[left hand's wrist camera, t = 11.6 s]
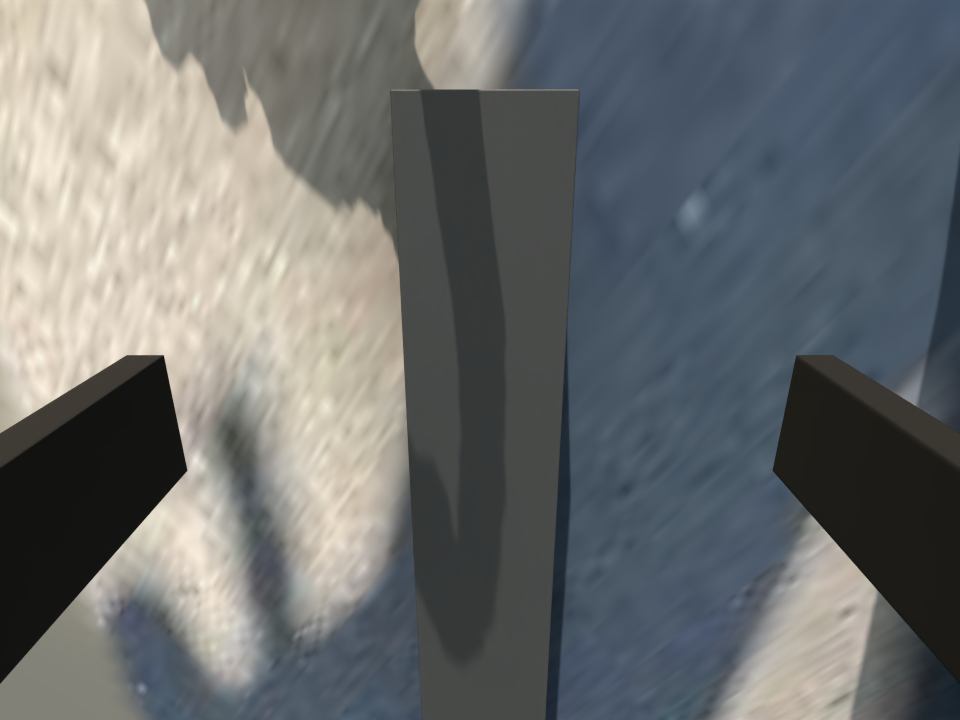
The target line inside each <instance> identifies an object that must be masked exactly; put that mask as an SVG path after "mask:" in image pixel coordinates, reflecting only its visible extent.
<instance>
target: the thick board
mask: <svg viewBox="0 0 960 720" xmlns="http://www.w3.org/2000/svg"><path fill="white" fill-rule="evenodd" d="M390 94H391V114H392V134H393V153H394V173H395V193H396V213H397V233H398V252H399V272H400V292H401V312H402V332H403V351H404V371H405V391H406V411H407V431H408V450H409V470H410V490H411V510H412V530H413V549H414V569H415V589H416V609H417V629H418V649H419V668H420V688H421V708H422V720H545V718H546V700H547V681H548V663H549V644H550V626H551V608H552V589H553V571H554V553H555V534H556V516H557V498H558V479H559V461H560V443H561V424H562V406H563V388H564V369H565V351H566V332H567V314H568V296H569V277H570V259H571V241H572V222H573V204H574V186H575V167H576V149H577V131H578V112H579V94H580V90H391V91H390Z"/></svg>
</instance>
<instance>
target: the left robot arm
mask: <svg viewBox="0 0 960 720" xmlns="http://www.w3.org/2000/svg"><path fill="white" fill-rule="evenodd" d="M186 472H187V467H186V462H185V457H184V452H183V447H182V442H181V437H180V433H179V428H178V423H177V418H176V413H175V408H174V403H173V398H172V393H171V389H170V384H169V379H168V374H167V369H166V364H165V359H164V355H127V356H125V357H123V358H122V359H120V360H118V361H117V362H115V363H114V364H112V365H110V366H109V367H107V368H105V369H104V370H102V371H101V372H99V373H97V374H96V375H94V376H93V377H91V378H89V379H88V380H86V381H84V382H83V383H81V384H80V385H78V386H76V387H75V388H73V389H71V390H70V391H68V392H67V393H65V394H63V395H62V396H60V397H59V398H57V399H55V400H54V401H52V402H50V403H49V404H47V405H46V406H44V407H42V408H41V409H39V410H37V411H36V412H34V413H33V414H31V415H29V416H28V417H26V418H24V419H23V420H21V421H20V422H18V423H16V424H15V425H13V426H12V427H10V428H8V429H7V430H5V431H4V432H2V433H0V683H1V682H2V681H3V680H4V679H5V678H6V677H7V675H8V674H9V673H10V672H11V671H12V670H13V669H14V667H15V666H16V665H17V664H18V663H19V662H20V661H21V659H22V658H23V657H24V656H25V655H26V654H27V653H28V651H29V650H30V649H31V648H32V647H33V646H34V645H35V644H36V642H37V641H38V640H39V639H40V638H41V637H42V636H43V634H44V633H45V632H46V631H47V630H48V629H49V628H50V626H51V625H52V624H53V623H54V622H55V621H56V620H57V618H58V617H59V616H60V615H61V614H62V613H63V612H64V610H65V609H66V608H67V607H68V606H69V605H70V604H71V603H72V601H73V600H74V599H75V598H76V597H77V596H78V595H79V593H80V592H81V591H82V590H83V589H84V588H85V587H86V585H87V584H88V583H89V582H90V581H91V580H92V579H93V577H94V576H95V575H96V574H97V573H98V572H99V571H100V570H101V568H102V567H103V566H104V565H105V564H106V563H107V562H108V560H109V559H110V558H111V557H112V556H113V555H114V554H115V552H116V551H117V550H118V549H119V548H120V547H121V546H122V544H123V543H124V542H125V541H126V540H127V539H128V538H129V536H130V535H131V534H132V533H133V532H134V531H135V530H136V529H137V527H138V526H139V525H140V524H141V523H142V522H143V521H144V519H145V518H146V517H147V516H148V515H149V514H150V513H151V511H152V510H153V509H154V508H155V507H156V506H157V505H158V503H159V502H160V501H161V500H162V499H163V498H164V497H165V495H166V494H167V493H168V492H169V491H170V490H171V489H172V488H173V486H174V485H175V484H176V483H177V482H178V481H179V480H180V478H181V477H182V476H183V475H184V474H185V473H186ZM773 472H774V473H775V474H776V475H777V476H778V477H779V478H780V480H781V481H782V482H783V483H784V484H785V485H786V486H787V488H788V489H789V490H790V491H791V492H792V493H793V494H794V495H795V497H796V498H797V499H798V500H799V501H800V502H801V503H802V505H803V506H804V507H805V508H806V509H807V510H808V511H809V513H810V514H811V515H812V516H813V517H814V518H815V519H816V521H817V522H818V523H819V524H820V525H821V526H822V527H823V529H824V530H825V531H826V532H827V533H828V534H829V535H830V536H831V538H832V539H833V540H834V541H835V542H836V543H837V544H838V546H839V547H840V548H841V549H842V550H843V551H844V552H845V554H846V555H847V556H848V557H849V558H850V559H851V560H852V562H853V563H854V564H855V565H856V566H857V567H858V568H859V570H860V571H861V572H862V573H863V574H864V575H865V576H866V577H867V579H868V580H869V581H870V582H871V583H872V584H873V585H874V587H875V588H876V589H877V590H878V591H879V592H880V593H881V595H882V596H883V597H884V598H885V599H886V600H887V601H888V603H889V604H890V605H891V606H892V607H893V608H894V609H895V610H896V612H897V613H898V614H899V615H900V616H901V617H902V618H903V620H904V621H905V622H906V623H907V624H908V625H909V626H910V628H911V629H912V630H913V631H914V632H915V633H916V634H917V636H918V637H919V638H920V639H921V640H922V641H923V642H924V644H925V645H926V646H927V647H928V648H929V649H930V650H931V651H932V653H933V654H934V655H935V656H936V657H937V658H938V659H939V661H940V662H941V663H942V664H943V665H944V666H945V667H946V669H947V670H948V671H949V672H950V673H951V674H952V675H953V677H954V678H955V679H956V680H957V681H958V682H959V683H960V433H958V432H957V431H955V430H953V429H952V428H950V427H948V426H947V425H945V424H944V423H942V422H940V421H939V420H937V419H936V418H934V417H932V416H931V415H929V414H927V413H926V412H924V411H923V410H921V409H919V408H918V407H916V406H914V405H913V404H911V403H910V402H908V401H906V400H905V399H903V398H901V397H900V396H898V395H897V394H895V393H893V392H892V391H890V390H889V389H887V388H885V387H884V386H882V385H880V384H879V383H877V382H876V381H874V380H872V379H871V378H869V377H867V376H866V375H864V374H863V373H861V372H859V371H858V370H856V369H855V368H853V367H851V366H850V365H848V364H846V363H845V362H843V361H842V360H840V359H838V358H837V357H835V356H833V355H796V359H795V364H794V369H793V374H792V379H791V384H790V389H789V393H788V398H787V403H786V408H785V413H784V418H783V423H782V428H781V432H780V437H779V442H778V447H777V452H776V457H775V462H774V467H773Z"/></svg>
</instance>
